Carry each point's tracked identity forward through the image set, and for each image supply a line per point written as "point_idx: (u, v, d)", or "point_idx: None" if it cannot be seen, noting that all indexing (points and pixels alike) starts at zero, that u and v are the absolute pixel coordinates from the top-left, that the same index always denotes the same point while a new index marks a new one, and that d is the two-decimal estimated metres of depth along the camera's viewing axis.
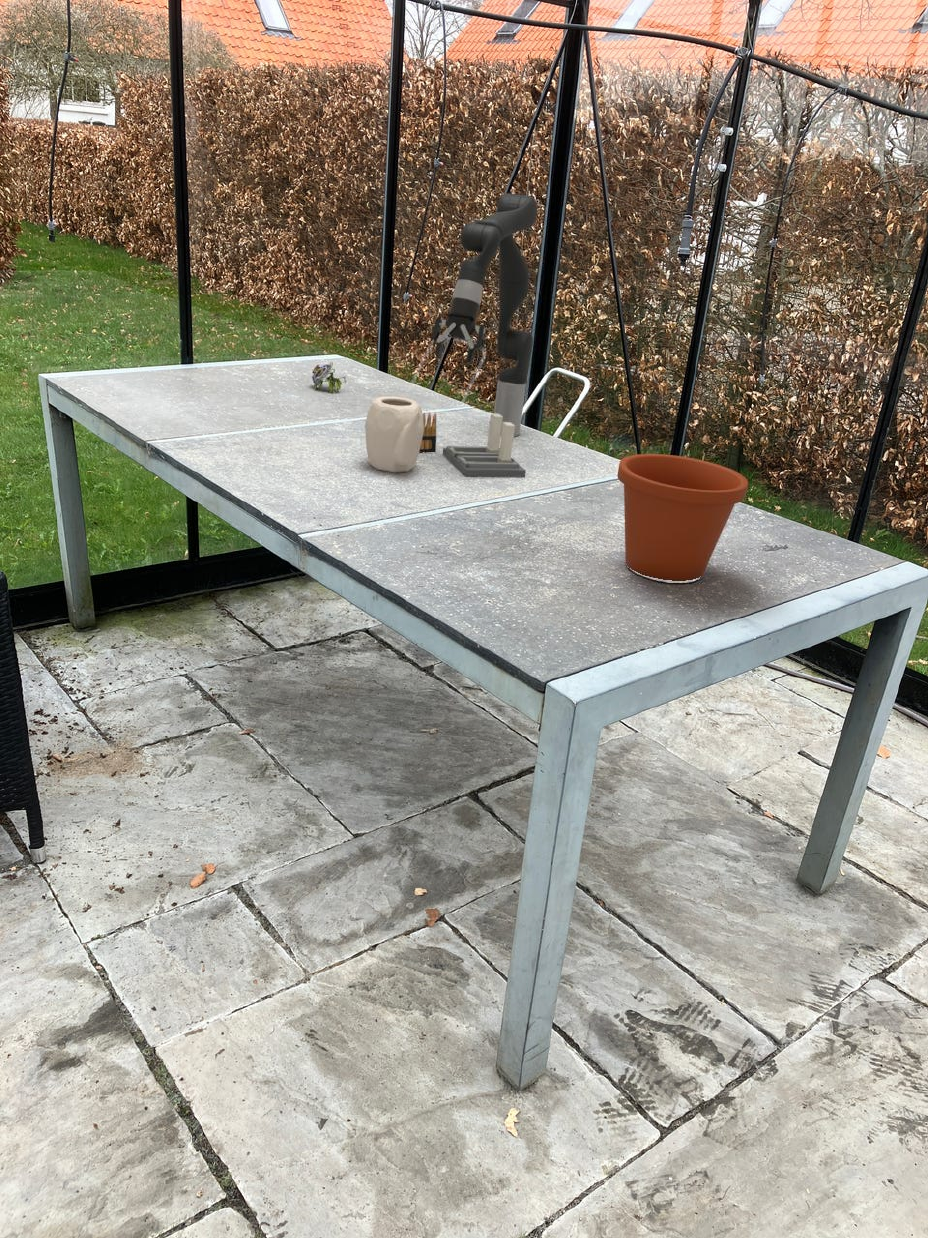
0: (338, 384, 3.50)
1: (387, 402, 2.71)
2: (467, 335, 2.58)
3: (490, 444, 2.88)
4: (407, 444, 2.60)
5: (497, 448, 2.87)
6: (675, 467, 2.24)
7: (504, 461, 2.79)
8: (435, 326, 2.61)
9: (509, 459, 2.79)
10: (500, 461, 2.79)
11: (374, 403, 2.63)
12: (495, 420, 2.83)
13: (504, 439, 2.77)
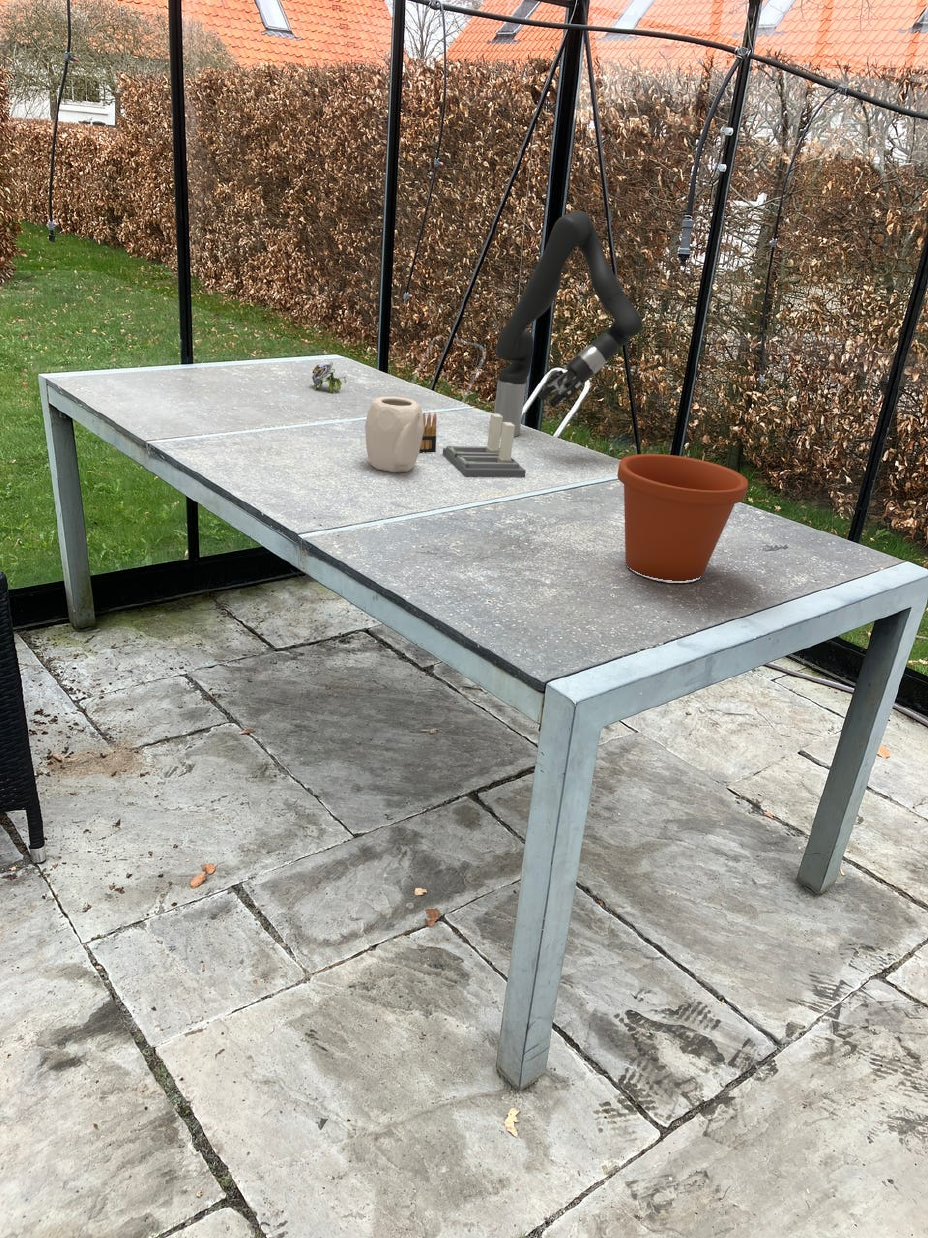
0: (338, 384, 3.50)
1: (387, 402, 2.71)
2: None
3: (490, 444, 2.88)
4: (407, 444, 2.60)
5: (497, 448, 2.87)
6: (675, 467, 2.24)
7: (504, 461, 2.79)
8: None
9: (509, 459, 2.79)
10: (500, 461, 2.79)
11: (374, 403, 2.63)
12: (495, 420, 2.83)
13: (504, 439, 2.77)
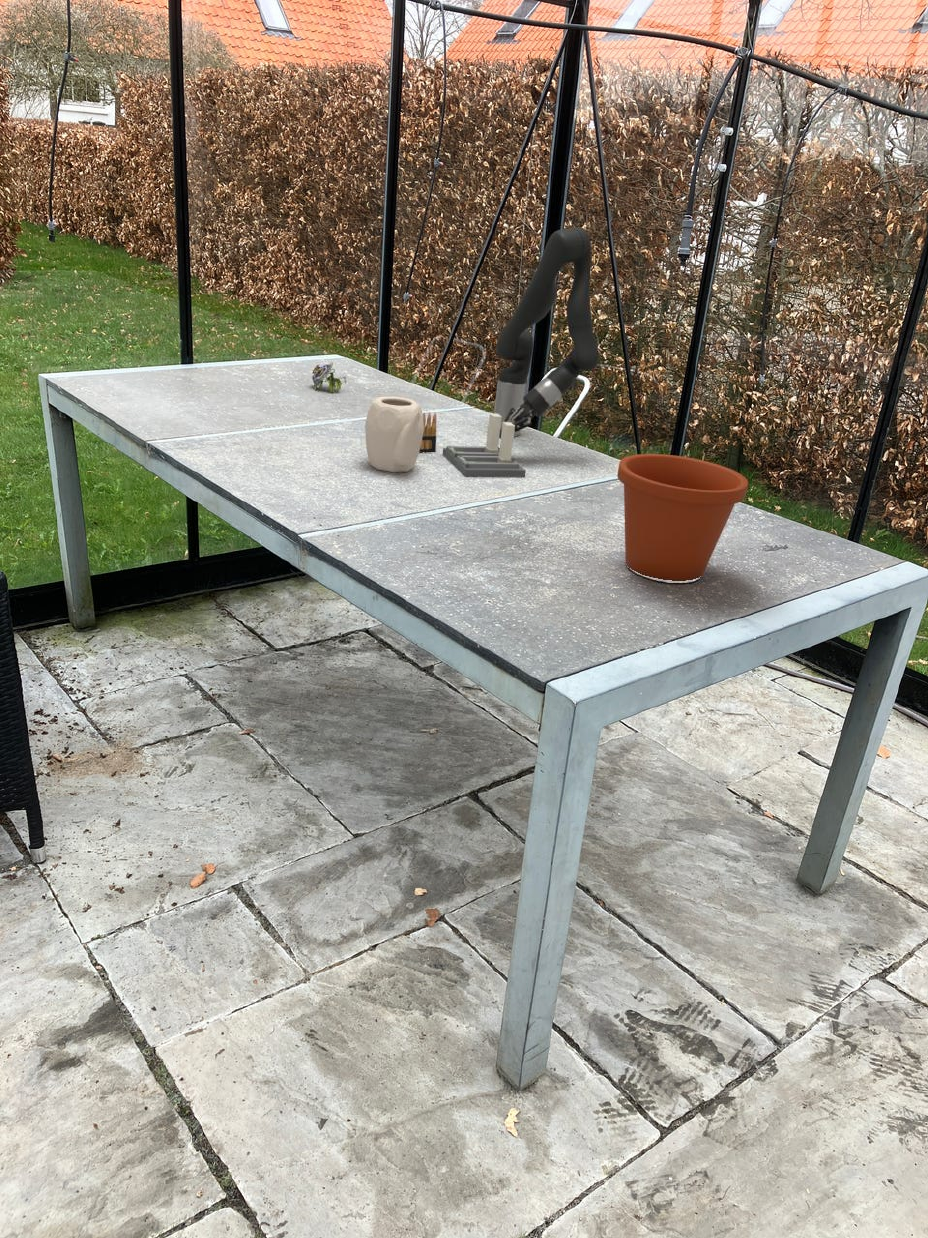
0: (338, 384, 3.50)
1: (387, 402, 2.71)
2: None
3: (488, 444, 2.87)
4: (407, 444, 2.60)
5: (496, 448, 2.87)
6: (675, 467, 2.24)
7: (504, 461, 2.79)
8: None
9: (509, 459, 2.79)
10: (500, 461, 2.79)
11: (374, 403, 2.63)
12: (494, 420, 2.83)
13: (504, 439, 2.77)
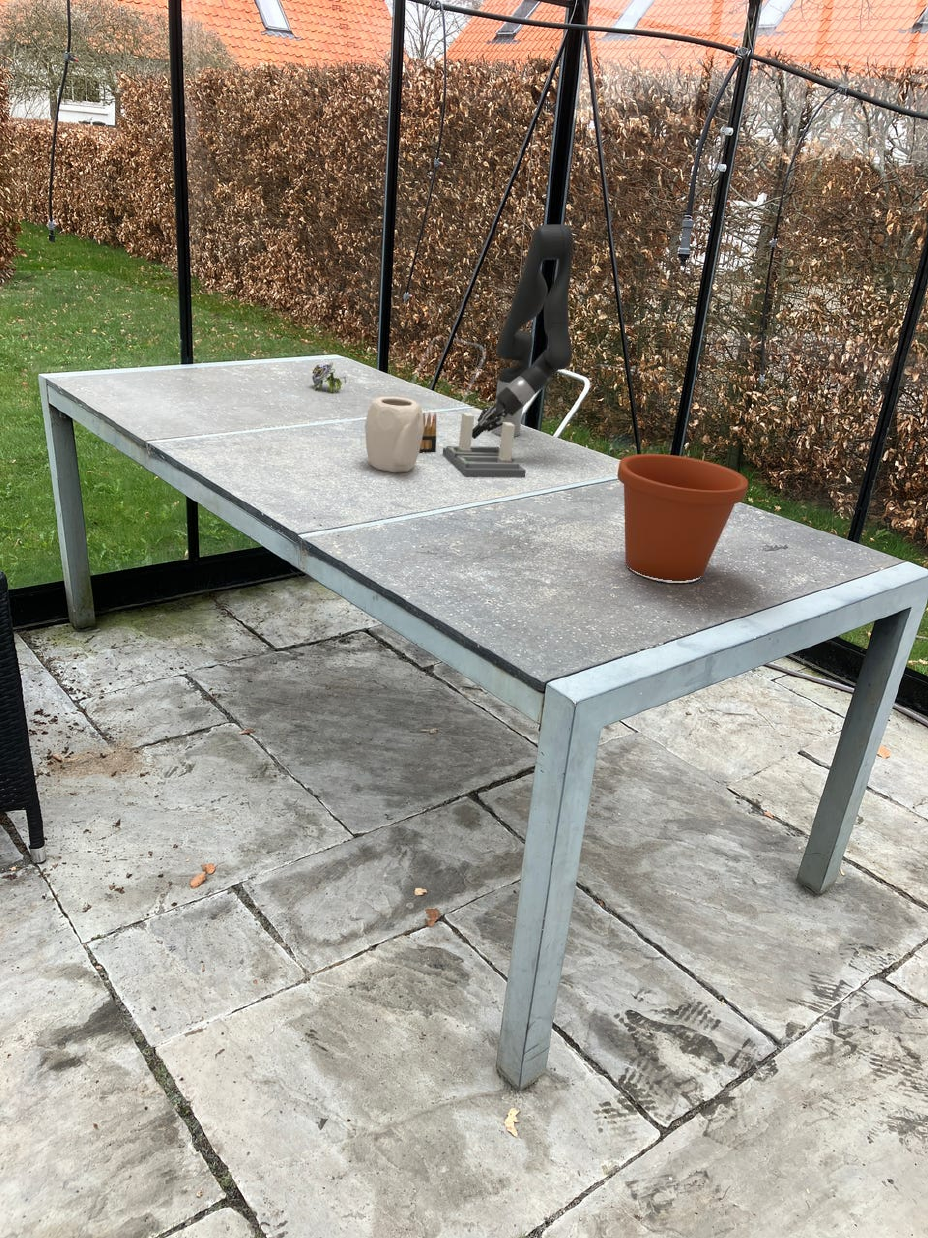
0: (338, 384, 3.50)
1: (387, 402, 2.71)
2: None
3: (461, 444, 2.85)
4: (407, 444, 2.60)
5: (469, 448, 2.84)
6: (675, 467, 2.24)
7: (504, 461, 2.79)
8: None
9: (509, 459, 2.79)
10: (500, 461, 2.79)
11: (374, 403, 2.63)
12: (466, 419, 2.80)
13: (504, 439, 2.77)
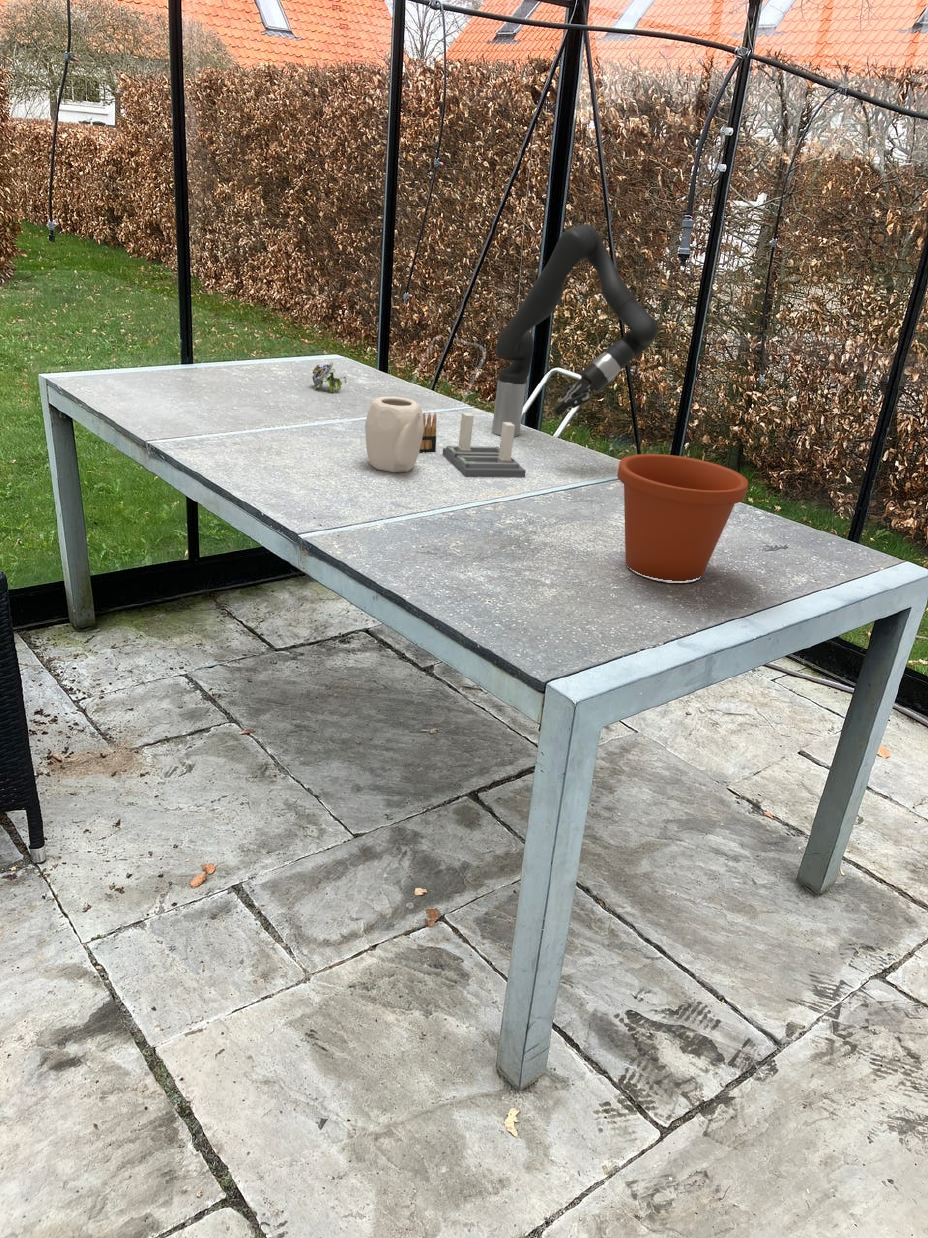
0: (338, 384, 3.50)
1: (387, 402, 2.71)
2: None
3: (461, 444, 2.85)
4: (407, 444, 2.60)
5: (468, 448, 2.84)
6: (675, 467, 2.24)
7: (504, 461, 2.79)
8: None
9: (509, 459, 2.79)
10: (500, 461, 2.79)
11: (374, 403, 2.63)
12: (466, 419, 2.80)
13: (504, 439, 2.77)
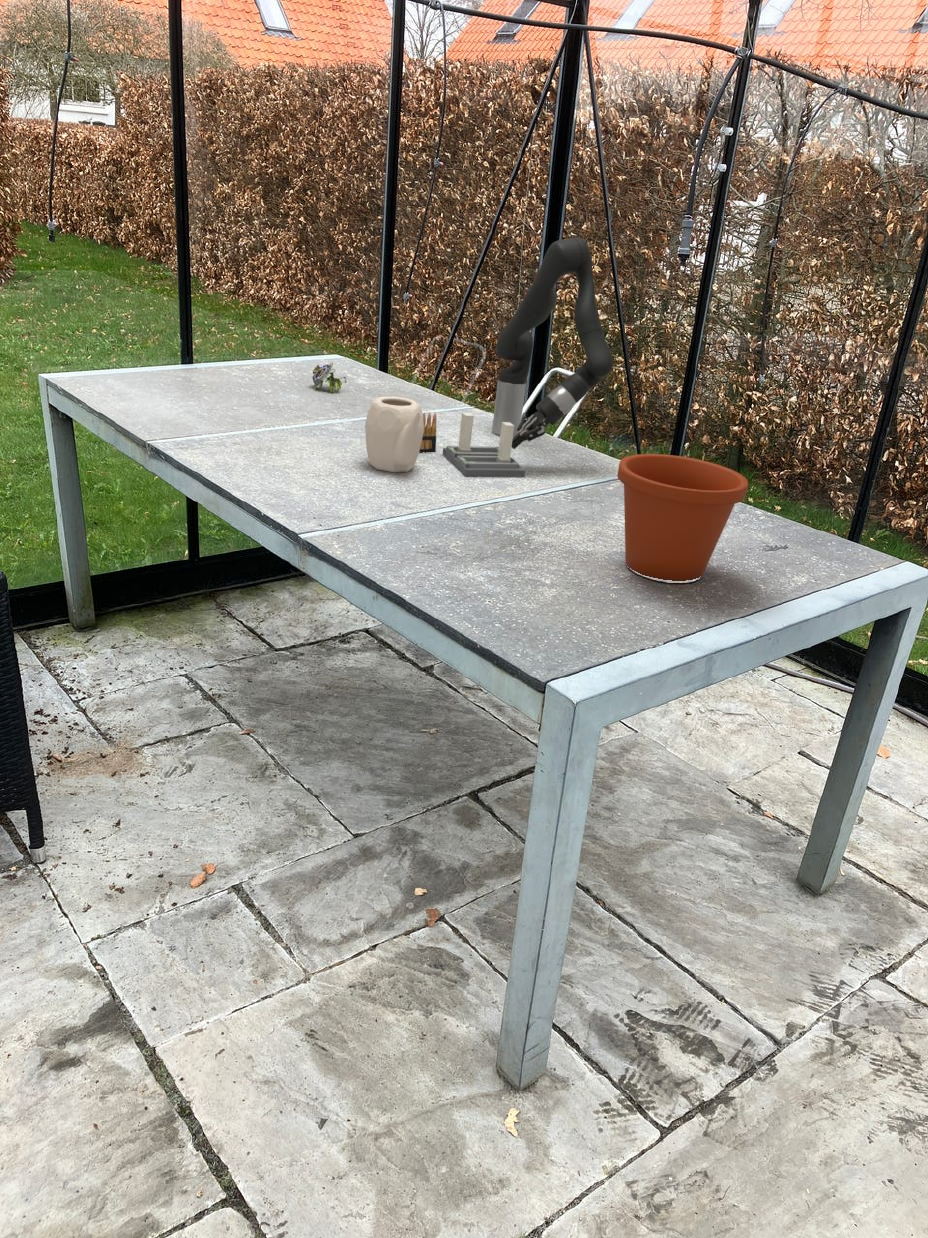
0: (338, 384, 3.50)
1: (387, 402, 2.71)
2: None
3: (461, 444, 2.85)
4: (407, 444, 2.60)
5: (468, 448, 2.84)
6: (675, 467, 2.24)
7: (503, 461, 2.78)
8: None
9: (508, 459, 2.79)
10: (499, 461, 2.79)
11: (374, 403, 2.63)
12: (466, 419, 2.80)
13: (503, 439, 2.76)
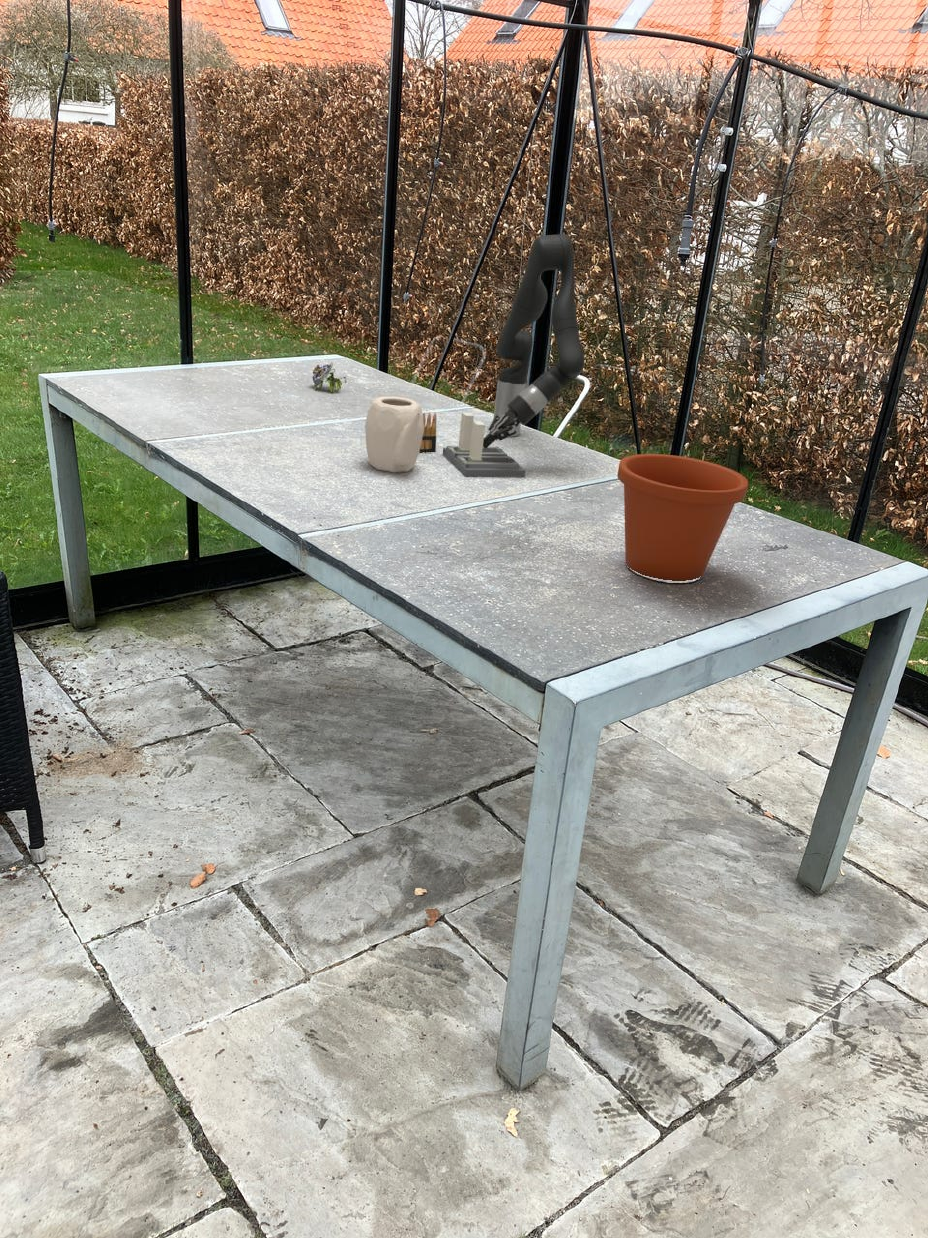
0: (338, 384, 3.50)
1: (387, 402, 2.71)
2: None
3: (461, 444, 2.85)
4: (407, 444, 2.60)
5: (468, 448, 2.84)
6: (675, 467, 2.24)
7: (475, 461, 2.76)
8: None
9: (480, 459, 2.76)
10: (471, 461, 2.76)
11: (374, 403, 2.63)
12: (466, 419, 2.80)
13: (474, 438, 2.74)
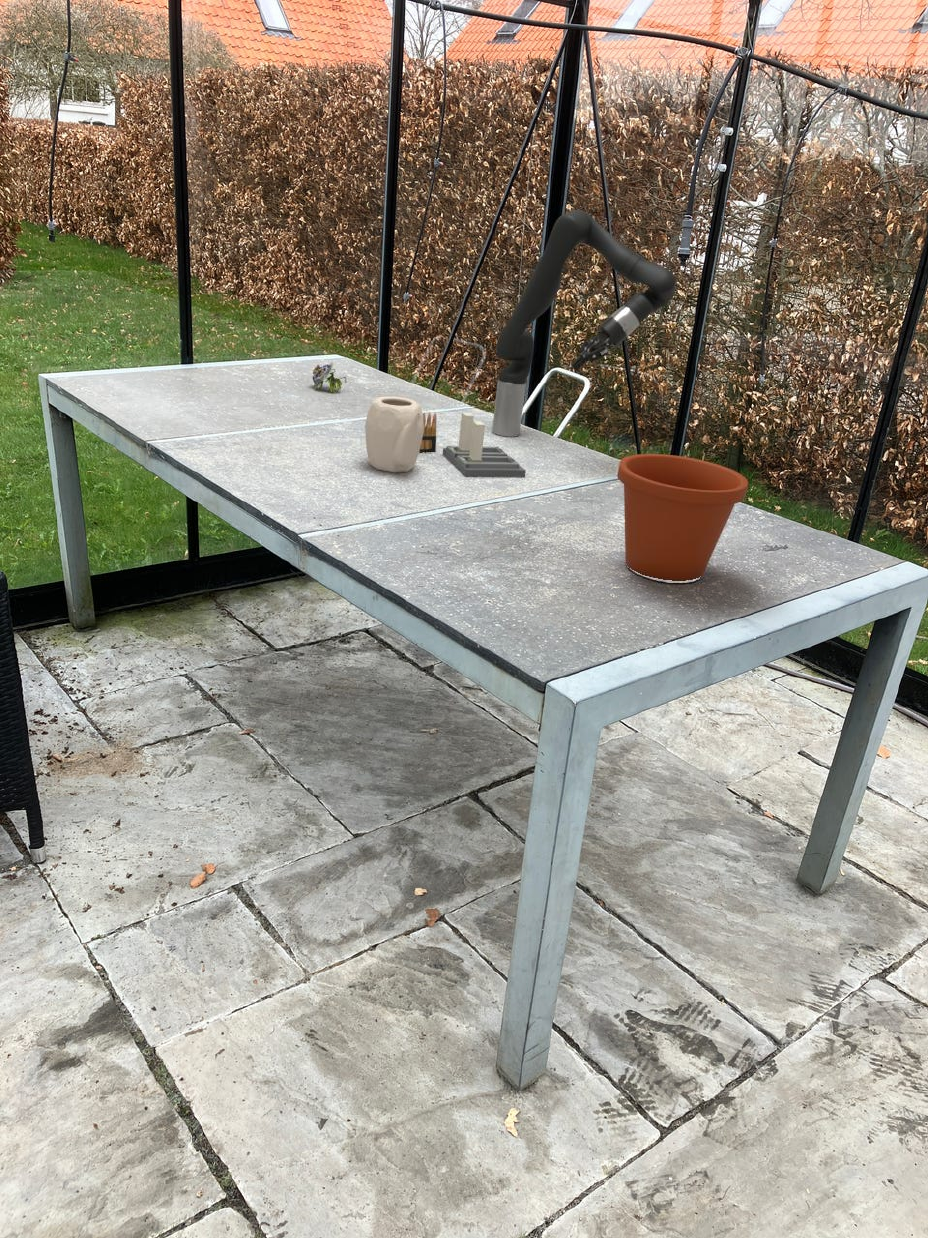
0: (339, 384, 3.50)
1: (387, 402, 2.71)
2: None
3: (461, 444, 2.85)
4: (407, 444, 2.60)
5: (468, 448, 2.84)
6: (675, 467, 2.24)
7: (474, 461, 2.76)
8: None
9: (480, 459, 2.76)
10: (471, 461, 2.76)
11: (374, 403, 2.63)
12: (466, 419, 2.80)
13: (474, 438, 2.74)
